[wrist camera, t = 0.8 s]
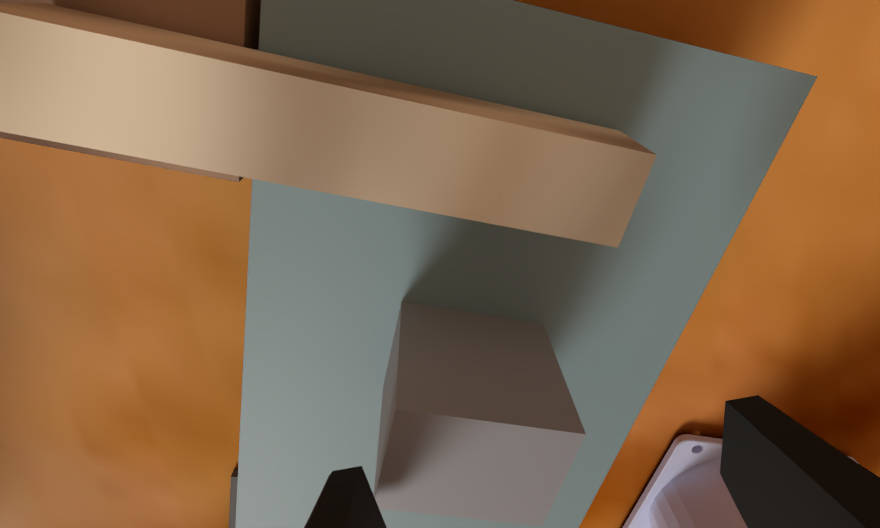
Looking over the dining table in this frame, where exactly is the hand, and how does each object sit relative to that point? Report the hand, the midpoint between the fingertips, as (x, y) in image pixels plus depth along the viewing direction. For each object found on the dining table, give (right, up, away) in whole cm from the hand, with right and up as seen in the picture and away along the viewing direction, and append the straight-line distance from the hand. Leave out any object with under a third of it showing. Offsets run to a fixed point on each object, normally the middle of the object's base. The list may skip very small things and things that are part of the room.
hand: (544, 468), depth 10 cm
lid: (-2, +2, +5) cm, 6 cm away
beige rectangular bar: (-4, +7, +1) cm, 8 cm away
